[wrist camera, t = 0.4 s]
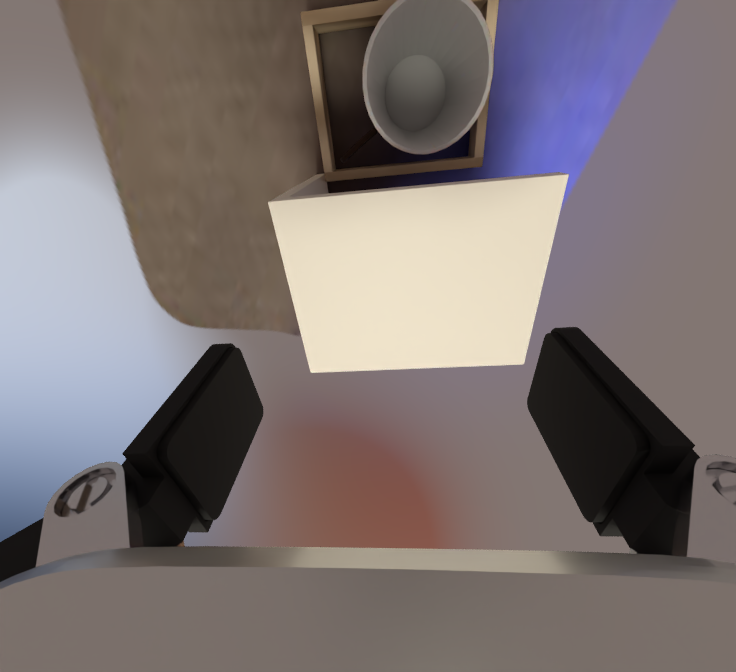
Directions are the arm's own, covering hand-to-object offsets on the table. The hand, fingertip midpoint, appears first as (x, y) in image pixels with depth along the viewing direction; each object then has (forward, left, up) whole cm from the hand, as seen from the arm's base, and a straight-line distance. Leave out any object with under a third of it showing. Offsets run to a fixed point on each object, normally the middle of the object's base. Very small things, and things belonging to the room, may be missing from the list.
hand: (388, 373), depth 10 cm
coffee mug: (-9, +2, -29) cm, 31 cm away
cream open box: (+4, +2, -29) cm, 29 cm away
